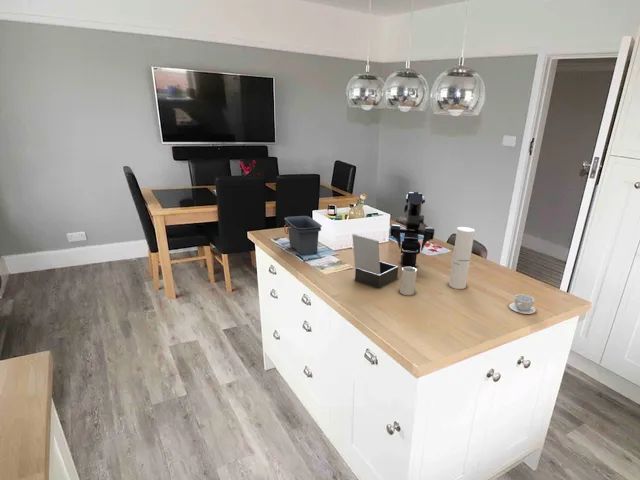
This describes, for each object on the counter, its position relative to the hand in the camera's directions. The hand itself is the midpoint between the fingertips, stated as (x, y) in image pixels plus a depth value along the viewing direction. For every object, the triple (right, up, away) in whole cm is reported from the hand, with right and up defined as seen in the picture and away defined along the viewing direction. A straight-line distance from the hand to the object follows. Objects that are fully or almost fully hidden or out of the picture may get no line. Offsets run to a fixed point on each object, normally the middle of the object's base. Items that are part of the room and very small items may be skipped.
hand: (410, 249), depth 177 cm
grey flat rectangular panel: (-18, -3, -9) cm, 20 cm away
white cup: (-2, -18, -7) cm, 20 cm away
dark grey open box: (-15, -13, +3) cm, 20 cm away
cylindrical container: (+20, -15, +3) cm, 26 cm away
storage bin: (-53, +4, +32) cm, 62 cm away
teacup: (+43, -25, -14) cm, 52 cm away
